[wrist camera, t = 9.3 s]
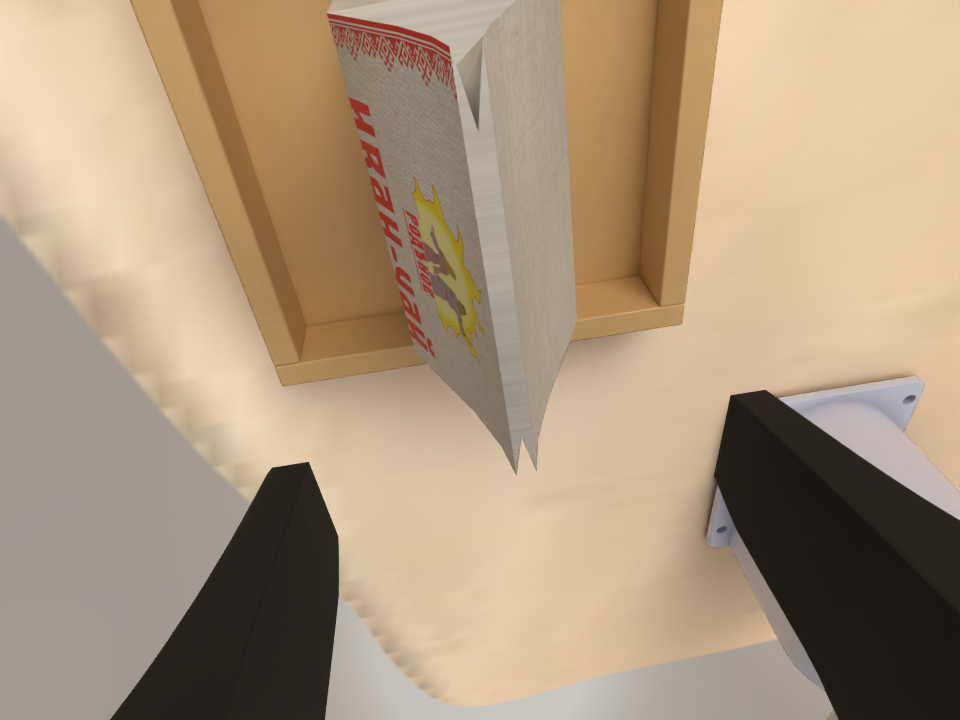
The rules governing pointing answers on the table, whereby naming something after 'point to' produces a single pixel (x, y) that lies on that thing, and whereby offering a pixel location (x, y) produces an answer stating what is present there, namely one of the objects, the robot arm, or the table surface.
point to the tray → (348, 190)
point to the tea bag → (471, 190)
